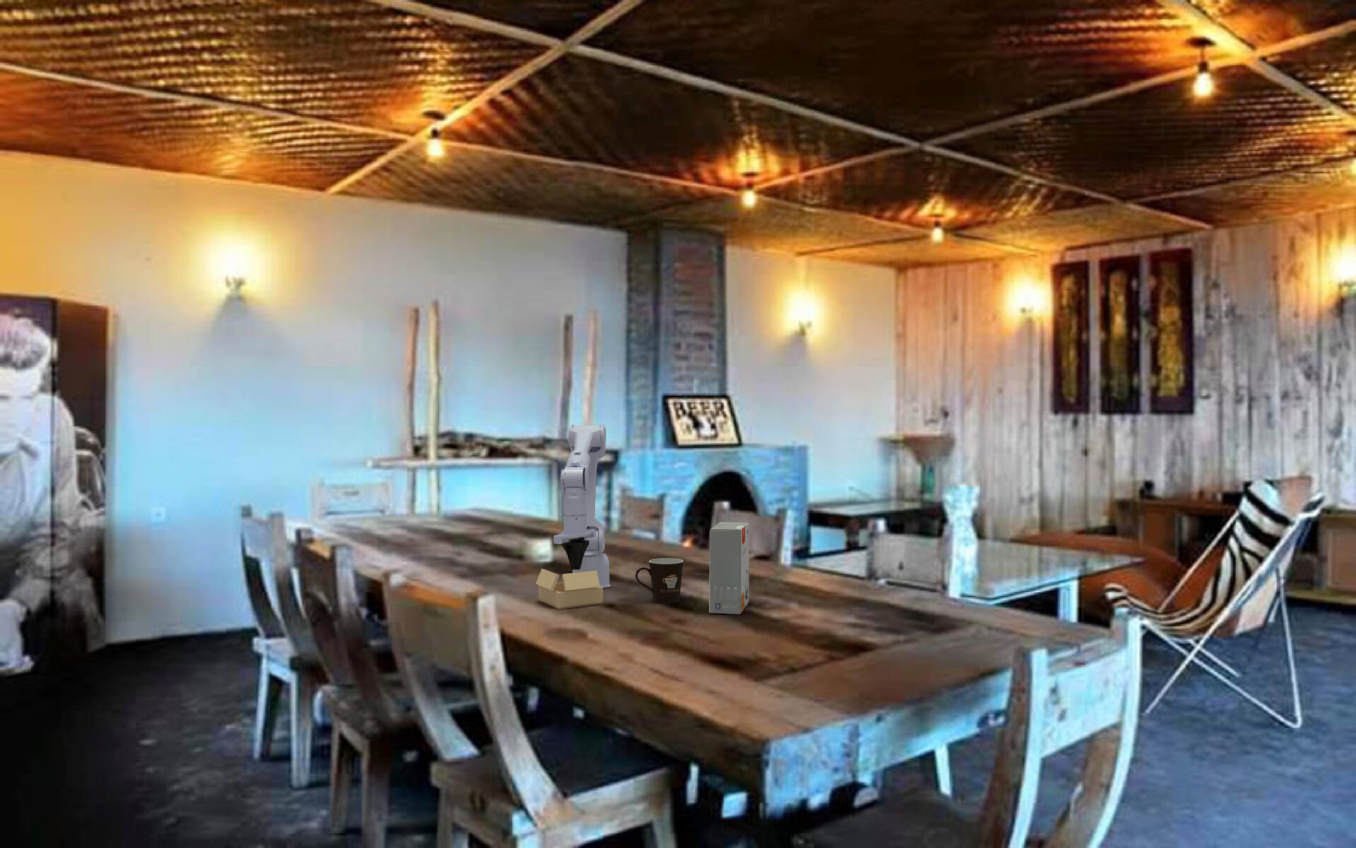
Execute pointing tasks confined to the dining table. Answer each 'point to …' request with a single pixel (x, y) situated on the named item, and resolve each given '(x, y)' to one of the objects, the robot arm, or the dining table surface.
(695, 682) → the dining table surface
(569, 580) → the flap left
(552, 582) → the flap far
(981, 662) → the dining table surface
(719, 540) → the hard drive box
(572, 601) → the carton
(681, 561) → the coffee mug
